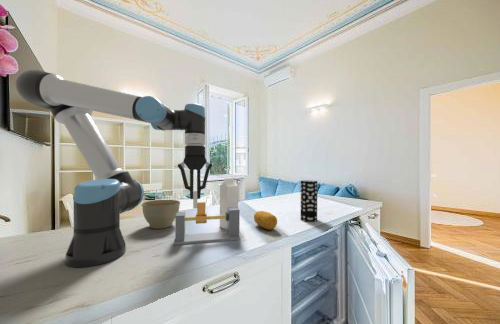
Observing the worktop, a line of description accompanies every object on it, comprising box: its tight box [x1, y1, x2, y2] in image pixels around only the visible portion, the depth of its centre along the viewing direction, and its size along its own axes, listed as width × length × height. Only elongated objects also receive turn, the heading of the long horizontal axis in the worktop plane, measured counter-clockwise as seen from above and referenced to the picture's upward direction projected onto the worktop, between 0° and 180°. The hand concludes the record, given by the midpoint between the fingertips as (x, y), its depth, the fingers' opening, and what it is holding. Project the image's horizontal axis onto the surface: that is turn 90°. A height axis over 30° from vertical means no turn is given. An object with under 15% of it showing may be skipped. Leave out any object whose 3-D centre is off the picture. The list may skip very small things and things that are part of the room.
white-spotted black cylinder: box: [300, 180, 318, 223], centre depth 110 cm, size 8×8×20 cm
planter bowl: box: [141, 199, 181, 229], centre depth 97 cm, size 16×16×11 cm
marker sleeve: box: [195, 201, 208, 225], centre depth 81 cm, size 4×3×8 cm
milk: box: [219, 177, 239, 230], centre depth 97 cm, size 6×6×22 cm
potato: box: [253, 210, 278, 231], centre depth 96 cm, size 7×14×7 cm, turn 26°
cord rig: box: [173, 206, 241, 246], centre depth 82 cm, size 24×8×11 cm, turn 104°
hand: (195, 207), depth 81 cm, fingers closed
